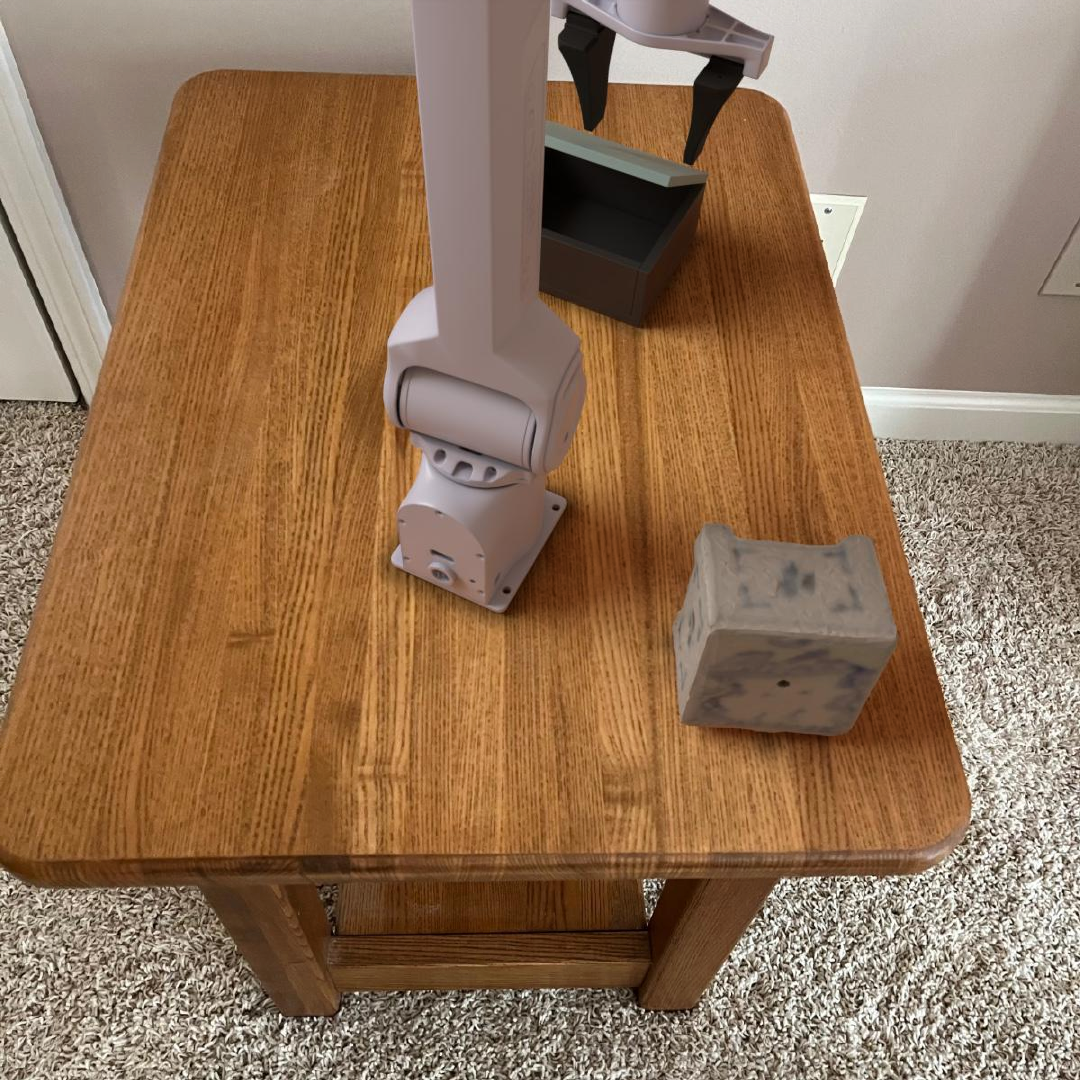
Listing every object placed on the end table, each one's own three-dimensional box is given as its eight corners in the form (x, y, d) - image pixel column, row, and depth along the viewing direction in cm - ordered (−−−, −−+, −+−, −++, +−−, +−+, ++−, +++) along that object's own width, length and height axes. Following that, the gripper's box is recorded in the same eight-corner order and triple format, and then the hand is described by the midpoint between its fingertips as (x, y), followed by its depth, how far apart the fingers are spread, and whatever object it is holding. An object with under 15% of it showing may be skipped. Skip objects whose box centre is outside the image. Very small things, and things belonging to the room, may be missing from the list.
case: (639, 328, 74) (648, 273, 69) (479, 268, 76) (478, 212, 72) (694, 238, 80) (706, 182, 75) (544, 185, 82) (547, 129, 78)
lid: (667, 187, 64) (671, 176, 64) (483, 125, 67) (486, 114, 67) (706, 182, 75) (709, 173, 75) (546, 129, 78) (548, 120, 77)
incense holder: (828, 618, 61) (885, 523, 52) (844, 745, 56) (909, 665, 47) (670, 607, 60) (700, 510, 52) (672, 734, 56) (706, 651, 47)
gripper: (809, -61, 59) (757, 141, 70) (590, -121, 62) (574, 81, 73) (771, -7, 55) (723, 196, 66) (540, -74, 58) (531, 131, 70)
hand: (642, 140), depth 70 cm, fingers open, 7 cm apart
